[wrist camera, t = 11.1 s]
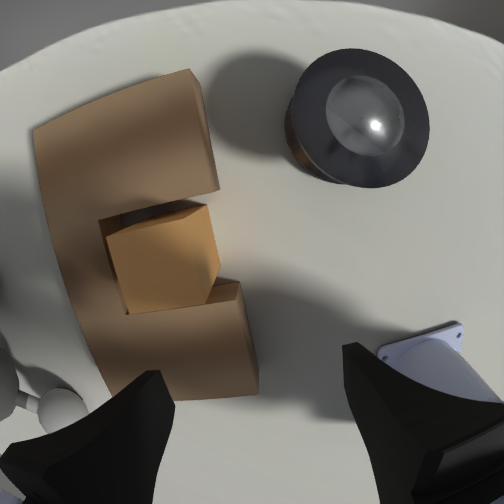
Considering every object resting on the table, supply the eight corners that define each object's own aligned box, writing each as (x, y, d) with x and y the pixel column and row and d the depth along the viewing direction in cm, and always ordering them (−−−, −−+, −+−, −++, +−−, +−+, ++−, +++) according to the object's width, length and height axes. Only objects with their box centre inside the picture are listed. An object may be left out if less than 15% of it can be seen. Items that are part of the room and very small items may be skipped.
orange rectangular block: (220, 265, 20) (205, 303, 14) (163, 275, 20) (129, 314, 14) (207, 204, 19) (183, 218, 13) (148, 217, 19) (105, 237, 13)
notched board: (258, 368, 22) (258, 394, 19) (127, 378, 22) (114, 400, 19) (199, 83, 17) (189, 68, 14) (57, 133, 18) (32, 130, 15)
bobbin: (399, 177, 18) (438, 180, 13) (296, 191, 18) (308, 198, 14) (378, 74, 16) (411, 49, 11) (274, 83, 17) (278, 53, 12)
